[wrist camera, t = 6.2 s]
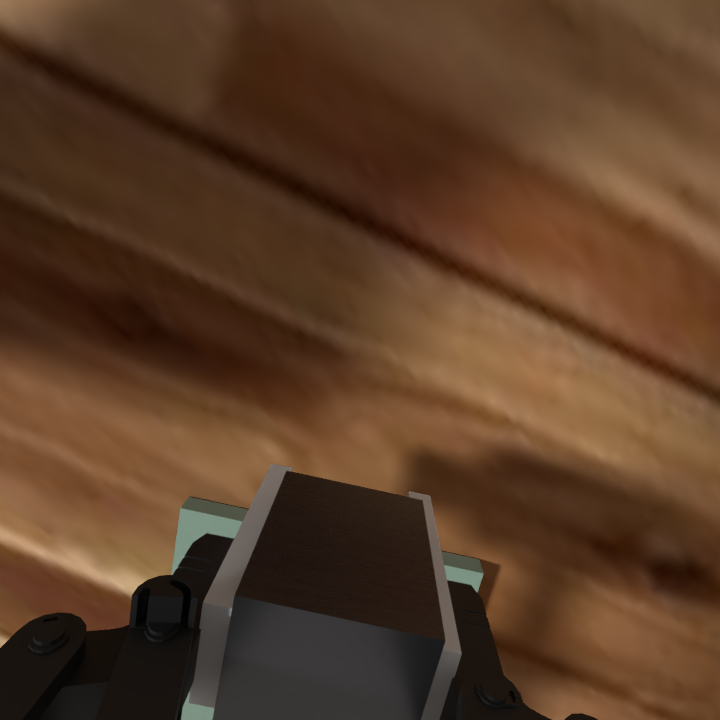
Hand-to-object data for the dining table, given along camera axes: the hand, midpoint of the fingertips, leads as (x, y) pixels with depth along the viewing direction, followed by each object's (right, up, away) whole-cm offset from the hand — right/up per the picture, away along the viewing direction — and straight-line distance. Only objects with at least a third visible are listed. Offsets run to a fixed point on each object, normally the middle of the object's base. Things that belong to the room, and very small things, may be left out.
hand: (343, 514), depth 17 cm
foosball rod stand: (-2, -7, +6) cm, 9 cm away
